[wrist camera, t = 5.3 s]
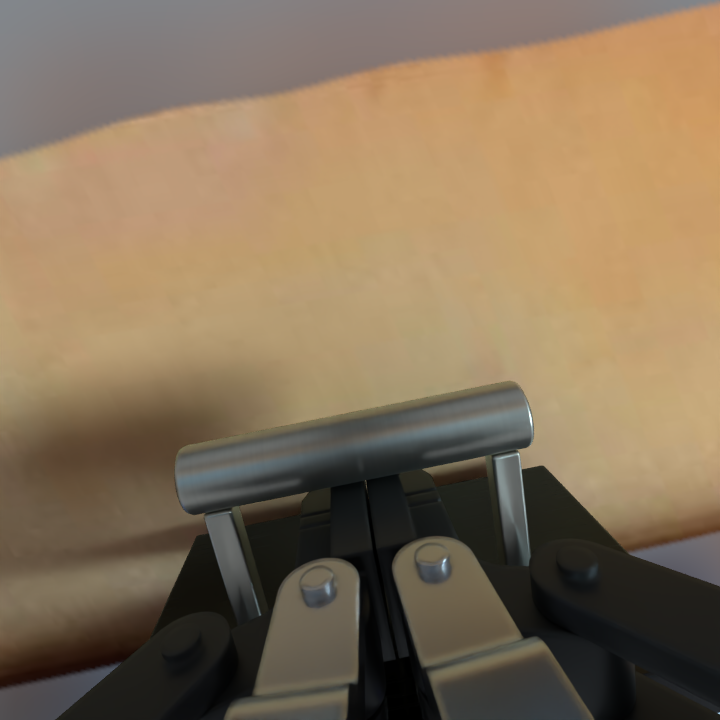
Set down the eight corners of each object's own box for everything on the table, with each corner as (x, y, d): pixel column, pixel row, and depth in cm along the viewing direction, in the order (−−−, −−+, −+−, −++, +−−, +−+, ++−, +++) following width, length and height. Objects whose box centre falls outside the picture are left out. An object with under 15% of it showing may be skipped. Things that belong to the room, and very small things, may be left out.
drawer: (152, 398, 14) (-36, 561, 7) (529, 323, 14) (736, 404, 7) (284, 812, 18) (254, 1179, 11) (571, 750, 18) (725, 1073, 11)
